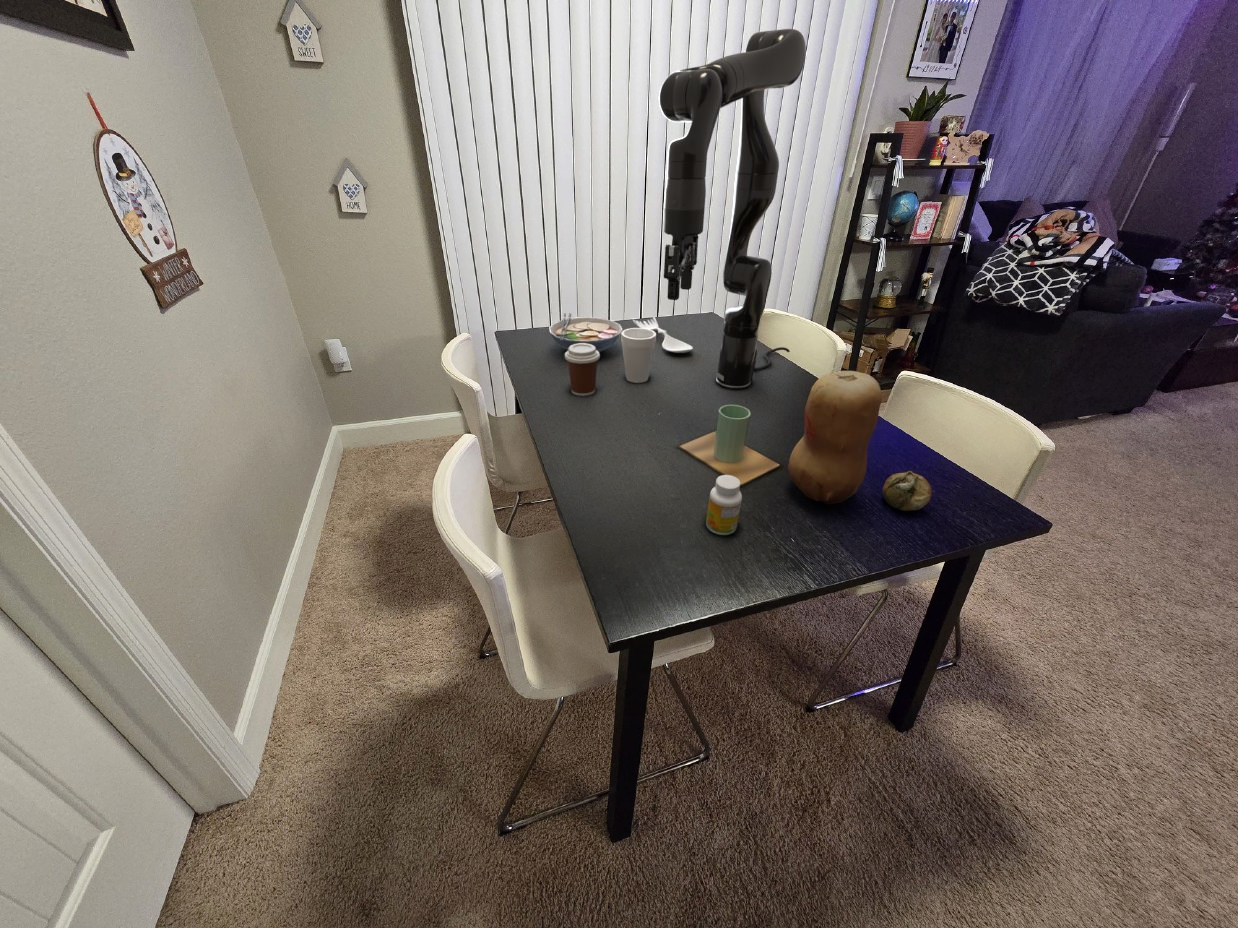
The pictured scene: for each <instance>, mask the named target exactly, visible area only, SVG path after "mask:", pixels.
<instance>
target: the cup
mask: <svg viewBox="0 0 1238 928" xmlns="http://www.w3.org/2000/svg"><path fill="white" fill-rule="evenodd" d="M751 415H752V414H751V411H750V410H749V408H747V407H745V406H742V405H738V404H726V405H722V406H720V407H719V408H718V414H717V421H716V428H715V431H716V435H715V442H714V449H713V455H714V457H715V458H716V459H717V460H719V461H722V462H725V463H736V462H739V461H741V460H742V458H743V455H744V449H745V446H746V444H747V438H748V431H749V426H750V421H751Z"/></svg>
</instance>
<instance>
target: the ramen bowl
mask: <svg viewBox="0 0 1238 928" xmlns="http://www.w3.org/2000/svg"><path fill="white" fill-rule="evenodd" d="M566 316H567V313H565V312H564V313H563V317H562V320H559V321H556V322H554V323H552V324H551V325H550V326H549V328H548V330H549V334H550V335H551V337H552V339H553V340H554V341H555V342H556V343H557V344H558V345H559V346H560V347H561V348H563V349H564V350H566V351H568V350H569V349H568V348H569V347H570V346H571V345H573V344H578V343H586V344H591V345H593V346H595V348H596V350H597V351H598V352H599V353H601V352H604V351H605V350H608V349H609V348H611V347H612V346H613V345H614V344H615V343H616V341H617V340H618V338H619V336H621V333H622V331H623V327H622V326H621V324H620V323H618V322H616V321H614V320H611V319H606V318H602V317H590V316H586V317H584V316H583V317H572V312H571V313H570V312H569V313H568V317H567V318H566Z"/></svg>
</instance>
